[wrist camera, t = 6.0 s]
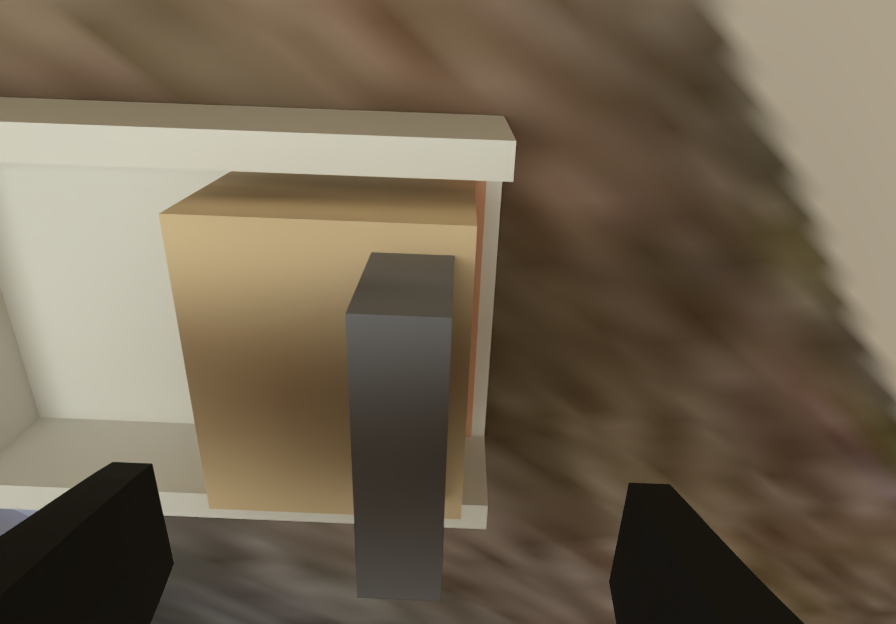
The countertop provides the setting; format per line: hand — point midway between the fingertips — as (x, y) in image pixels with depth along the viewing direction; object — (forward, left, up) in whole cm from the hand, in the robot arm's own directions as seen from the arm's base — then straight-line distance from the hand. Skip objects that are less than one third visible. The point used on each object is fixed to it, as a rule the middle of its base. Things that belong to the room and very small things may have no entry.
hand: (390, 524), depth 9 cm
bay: (0, +5, -9) cm, 11 cm away
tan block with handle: (0, +2, -8) cm, 8 cm away
